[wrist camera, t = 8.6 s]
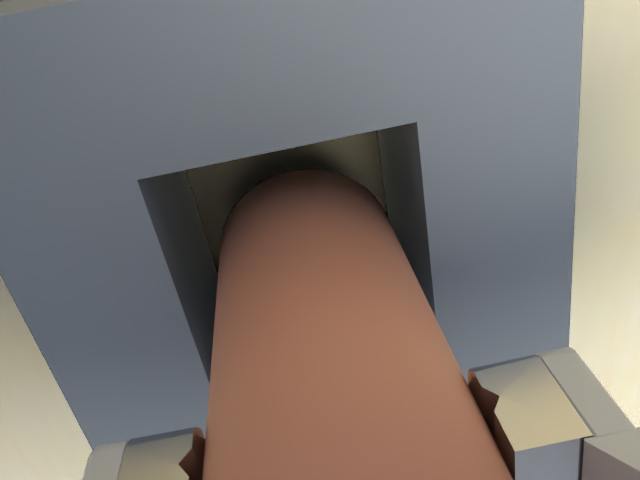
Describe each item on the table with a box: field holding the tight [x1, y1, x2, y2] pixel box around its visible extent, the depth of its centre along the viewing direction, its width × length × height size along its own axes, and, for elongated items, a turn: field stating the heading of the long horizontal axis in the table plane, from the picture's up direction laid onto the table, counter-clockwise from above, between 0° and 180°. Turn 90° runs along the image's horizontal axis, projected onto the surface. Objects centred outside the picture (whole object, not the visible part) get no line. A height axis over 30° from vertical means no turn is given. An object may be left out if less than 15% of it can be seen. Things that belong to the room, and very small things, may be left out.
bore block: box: [0, 0, 584, 450], centre depth 15 cm, size 12×12×5 cm
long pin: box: [202, 169, 513, 480], centre depth 9 cm, size 4×4×11 cm
